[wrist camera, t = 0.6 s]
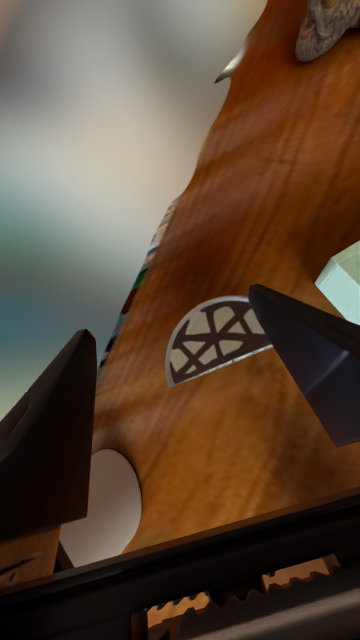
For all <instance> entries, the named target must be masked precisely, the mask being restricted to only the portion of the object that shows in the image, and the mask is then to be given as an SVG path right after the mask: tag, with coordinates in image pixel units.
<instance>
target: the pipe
mask: <svg viewBox="0 0 360 640" xmlns="http://www.w3.org/2000/svg"><path fill="white" fill-rule="evenodd" d="M307 11H308V12H307V14H306V15H305V17H304V19H303V22H302V24H301V28H300V33H299V36H298V39H297V42H296V50H295V53H296V56H297V58H298V60H299V61H303V62H308V61H311V60H314V59H316V58H318V57H319V56H320V55H324V54H325V53H326V52H327V51H328V50H329V49H330V48H331V47H332V46H333V45H334V44H335V43H336V41H337V40H338V39H339V38H340V37H341V36H342V35H343V33H344V32H345V31H346V29H347V28H358V27H360V0H308V2H307Z"/></svg>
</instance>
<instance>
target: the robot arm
mask: <svg viewBox="0 0 360 640" xmlns="http://www.w3.org/2000/svg"><path fill="white" fill-rule="evenodd" d="M248 301H249V303H250V305H251V307H252V309H253V312H254V314H255V316H256V318H257V320H258V322H259V324H260V326H261V327H262V329H263V331H264V332H265V334H266V335H267V337H268V339H269V340H270V342H271V343H272V345H273V347H274V348H275V350H276V351H277V353H278V355H279V356H280V358H281V359H282V361H283V363H284V364H285V366H286V367H287V369H288V371H289V372H290V374H291V376H292V377H293V379H294V380H295V382H296V384H297V385H298V387H299V388H300V390H301V392H302V393H303V395H304V396H305V398H306V400H307V401H308V403H309V405H310V406H311V408H312V409H313V411H314V413H315V414H316V416H317V417H318V419H319V421H320V422H321V424H322V425H323V427H324V429H325V430H326V432H327V433H328V435H329V437H330V438H331V440H332V441H333V443H334V444H335V446H336V447H341V446H344V445H348V444H351V443H355V442H358V441H360V325H358V324H355V323H352V322H350V321H347V320H344V319H342V318H339V317H337V316H334V315H332V314H330V313H327V312H324V311H322V310H320V309H318V308H315V307H313V306H310V305H308V304H306V303H303V302H301V301H298V300H296V299H294V298H291V297H289V296H287V295H284V294H282V293H279V292H277V291H275V290H272V289H270V288H267V287H265V286H263V285H260V284H254V285H251V286H250V288H249V294H248ZM96 377H97V355H96V340H95V338H94V337H93V336H92V334H90V332H89V331H88V330H87V329H82V330H79V331H77V332H76V333H75V335H74V336H73V337H72V338H71V339H70V341H69V342H68V343H67V344H66V346H64V348H63V349H62V350H61V351H60V352H59V354H58V355H57V356H56V357H55V359H54V360H53V361H52V362H51V363H50V364H49V366H48V367H47V368H46V369H45V370H44V372H43V373H42V374H41V375H40V376H39V378H38V379H37V380H36V381H35V382H34V383H33V385H32V386H31V387H30V388H29V389H28V392H26V393H25V394H24V395H23V397H22V398H21V399H20V400H19V401H18V402H17V403H16V405H15V406H14V407H13V408H12V409H11V410H10V411H9V413H8V414H7V415H6V416H5V417H4V418H3V419H2V420H1V421H0V640H360V487H356V488H353V489H349V490H346V491H342V492H339V493H335V494H332V495H328V496H325V497H321V498H318V499H314V500H311V501H307V502H303V503H300V504H296V505H293V506H289V507H286V508H282V509H279V510H275V511H272V512H268V513H265V514H261V515H258V516H254V517H251V518H247V519H244V520H240V521H237V522H233V523H230V524H226V525H223V526H219V527H216V528H212V529H209V530H205V531H202V532H198V533H195V534H191V535H188V536H184V537H181V538H177V539H174V540H170V541H167V542H163V543H160V544H156V545H153V546H149V547H146V548H142V549H139V550H135V551H132V552H128V553H125V554H121V555H118V556H114V557H111V558H107V559H104V560H100V561H97V562H93V563H89V564H86V565H82V566H79V567H74V566H73V564H72V562H71V560H70V558H69V557H68V555H67V553H66V551H65V549H64V548H63V546H62V544H61V542H60V541H59V536H60V530H61V525H62V524H66V523H69V522H73V521H77V520H80V519H84V518H87V513H88V499H89V484H90V469H91V452H92V437H93V422H94V407H95V392H96ZM321 557H322V558H323V560H324V562H325V564H326V567H327V569H328V571H329V573H330V575H325V574H322V573H319V572H316V571H314V572H311V573H310V577H308V578H304V579H299V578H296V577H294V578H290V582H289V583H287V584H284V585H281V586H280V585H278V584H276V583H273V584H270V585H269V589H267V590H266V588H265V584H264V581H263V578H262V575H263V574H265V575H267V576H269V577H273V576H275V572H276V571H277V570H280V569H284V568H287V567H290V566H294V565H297V564H301V563H304V562H308V561H311V560H314V559H318V558H321ZM201 592H203V593H204V594H205V595H206V596H208V597H209V602H208V604H207V605H206V607H205V608H202V609H199V610H195V609H194V607H191V608H188V609H187V610H186V612H185V613H184V614H182V615H178V616H175V617H171V618H168V619H165V620H162V623H160V624H156V625H154V626H152V627H150V628H149V629H148V620H147V612H148V611H149V610H150V609H151V608H152V607H153V606H156V607H157V610H160V609H162V608H163V607H164V606H165V605H166V604H167V603H168V602H170V601H172V603H173V605H177V604H178V603H179V602H180V601H181V600H182V599H183V598H184V597H188V599H189V600H190V601H191V600H194V599H195V598H196V596H197V595H198V594H199V593H201Z"/></svg>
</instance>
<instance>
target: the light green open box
mask: <svg viewBox="0 0 360 640" xmlns="http://www.w3.org/2000/svg"><path fill="white" fill-rule="evenodd" d="M314 284H315V285H316V286H317V287H318V288H319V290H320V291H321V292H322V293H323V294H324V295H325V296H326V297H327V298H328V300H329V301H330V302H331V303H332V304H333V305H334V306H335V307H336V308H337V310H338V311H339V312H340V313H341V314H342V315H343V316H344V317H345V318H346V320H347V321H350V322H352V323H355V324H358V325H360V240H359V241H358V242H356V243H354V244H353V245H351V246H349V247H348V248H346V249H344V250H343V251H341V252H339V253H338V254H336V255H335V256H333V257H331V259H330V260H329V262H328V263H327V265H326V266H325V268H324V269H323V271H322V272H321V274H320V275H319V277H318V279H317V280H316V282H315V283H314Z"/></svg>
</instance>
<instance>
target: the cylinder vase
mask: <svg viewBox="0 0 360 640" xmlns="http://www.w3.org/2000/svg"><path fill="white" fill-rule="evenodd" d="M141 509H142V501H141V492H140V487H139V483H138V480H137V477H136V474H135V472H134V470H133V468H132V467H131V465H130V464H129V462H128V461H127V460H126V459H125V457H123V456H122V455H121V454H120V453H118V452H116V451H114V450H110V449H104V450H100V451H98V452H96V453H95V454H93V455H91V469H90V484H89V499H88V513H87V518H84V519H80V520H77V521H73V522H69V523H66V524H62V525H61V530H60V536H59V541H60V542H61V544H62V546H63V548H64V549H65V551H66V553H67V555H68V557H69V558H70V560H71V562H72V564H73V566H74V567H79V566H82V565H86V564H89V563H93V562H97V561H100V560H104V559H107V558H111V557H114V556H118V555H120V554H121V553H122V551H123V550H124V549H125V547H126V546H127V544H128V543H129V542H130V540H131V539H132V538H133V536H134V535H135V533H136V531H137V528H138V526H139V522H140V518H141Z"/></svg>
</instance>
